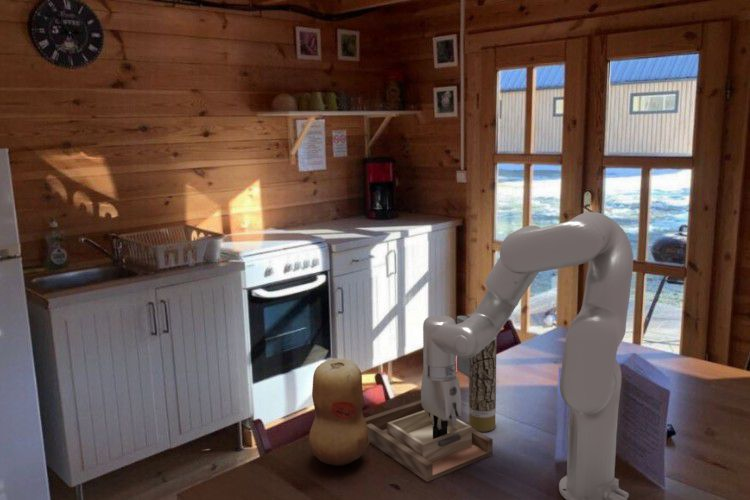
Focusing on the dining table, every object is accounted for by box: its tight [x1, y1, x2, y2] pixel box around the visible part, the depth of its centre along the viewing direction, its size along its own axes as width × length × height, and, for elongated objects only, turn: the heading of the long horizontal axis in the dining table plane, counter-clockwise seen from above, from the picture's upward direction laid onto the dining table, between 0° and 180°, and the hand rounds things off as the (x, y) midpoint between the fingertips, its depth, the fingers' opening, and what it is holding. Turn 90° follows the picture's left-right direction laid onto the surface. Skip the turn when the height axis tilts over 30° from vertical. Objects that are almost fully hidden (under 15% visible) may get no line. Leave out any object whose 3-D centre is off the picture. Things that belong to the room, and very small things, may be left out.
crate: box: [387, 410, 472, 462], centre depth 159 cm, size 15×15×5 cm
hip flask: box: [456, 313, 473, 378], centre depth 202 cm, size 16×4×20 cm, turn 20°
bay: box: [364, 399, 494, 483], centre depth 161 cm, size 26×20×5 cm
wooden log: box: [468, 336, 498, 433], centre depth 168 cm, size 7×7×25 cm
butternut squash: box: [308, 357, 370, 467], centre depth 153 cm, size 14×13×25 cm
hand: (440, 441), depth 157 cm, fingers closed
